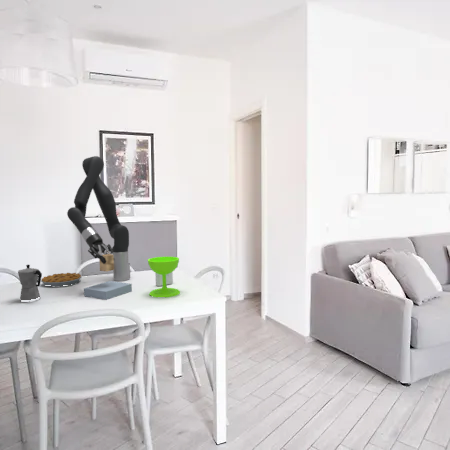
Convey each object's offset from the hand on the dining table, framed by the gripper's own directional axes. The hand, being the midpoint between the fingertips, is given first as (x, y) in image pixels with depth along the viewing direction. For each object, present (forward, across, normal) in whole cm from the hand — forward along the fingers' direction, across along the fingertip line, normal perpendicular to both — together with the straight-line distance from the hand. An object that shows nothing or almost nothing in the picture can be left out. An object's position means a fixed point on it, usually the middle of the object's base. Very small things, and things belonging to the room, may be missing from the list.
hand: (109, 261), depth 204 cm
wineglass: (+30, +13, -6) cm, 33 cm away
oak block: (+2, 0, +5) cm, 5 cm away
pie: (-19, +5, +44) cm, 48 cm away
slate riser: (+11, 0, +13) cm, 17 cm away
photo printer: (+21, +28, +3) cm, 35 cm away
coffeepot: (-7, -26, +32) cm, 42 cm away
